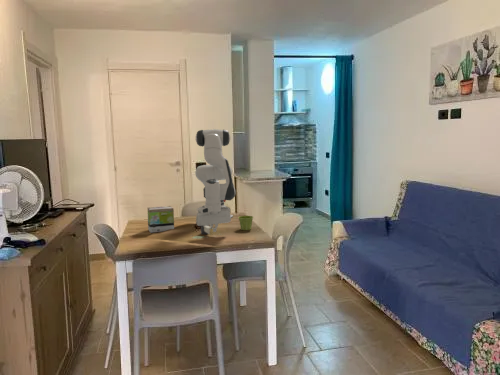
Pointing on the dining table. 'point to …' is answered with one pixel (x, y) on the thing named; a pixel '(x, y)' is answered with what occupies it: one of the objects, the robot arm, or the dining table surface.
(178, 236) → the dining table surface
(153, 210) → the tea box
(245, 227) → the plant pot
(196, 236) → the dial
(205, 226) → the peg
